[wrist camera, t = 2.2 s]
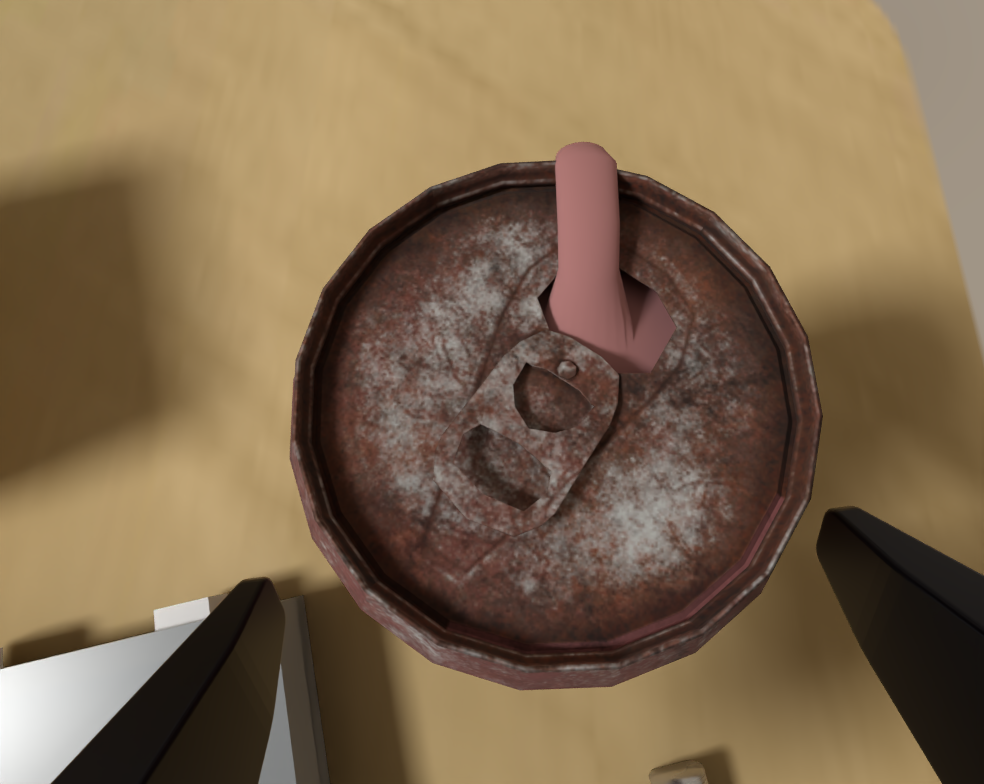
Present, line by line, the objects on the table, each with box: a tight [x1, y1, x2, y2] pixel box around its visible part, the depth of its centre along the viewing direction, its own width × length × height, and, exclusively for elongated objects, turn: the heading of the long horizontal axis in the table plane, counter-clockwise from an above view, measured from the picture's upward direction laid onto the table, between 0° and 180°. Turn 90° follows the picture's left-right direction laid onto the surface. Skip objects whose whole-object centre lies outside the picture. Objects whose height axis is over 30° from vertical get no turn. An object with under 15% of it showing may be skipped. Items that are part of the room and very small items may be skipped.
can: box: [290, 142, 823, 690], centre depth 13 cm, size 6×6×14 cm
